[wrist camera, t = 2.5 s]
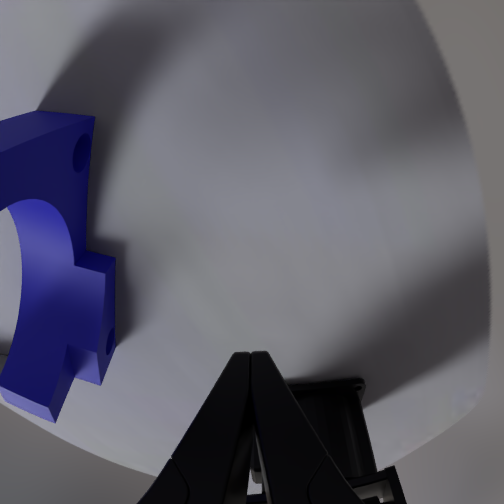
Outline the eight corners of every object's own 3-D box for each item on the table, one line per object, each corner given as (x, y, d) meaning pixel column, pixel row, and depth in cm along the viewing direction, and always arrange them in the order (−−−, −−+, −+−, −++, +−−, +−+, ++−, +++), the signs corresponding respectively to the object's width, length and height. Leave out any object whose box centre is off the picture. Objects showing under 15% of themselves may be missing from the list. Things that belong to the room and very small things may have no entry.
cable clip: (116, 344, 17) (84, 434, 11) (48, 323, 16) (4, 401, 11) (131, 120, 11) (42, 161, 6) (38, 109, 10) (-67, 146, 5)
